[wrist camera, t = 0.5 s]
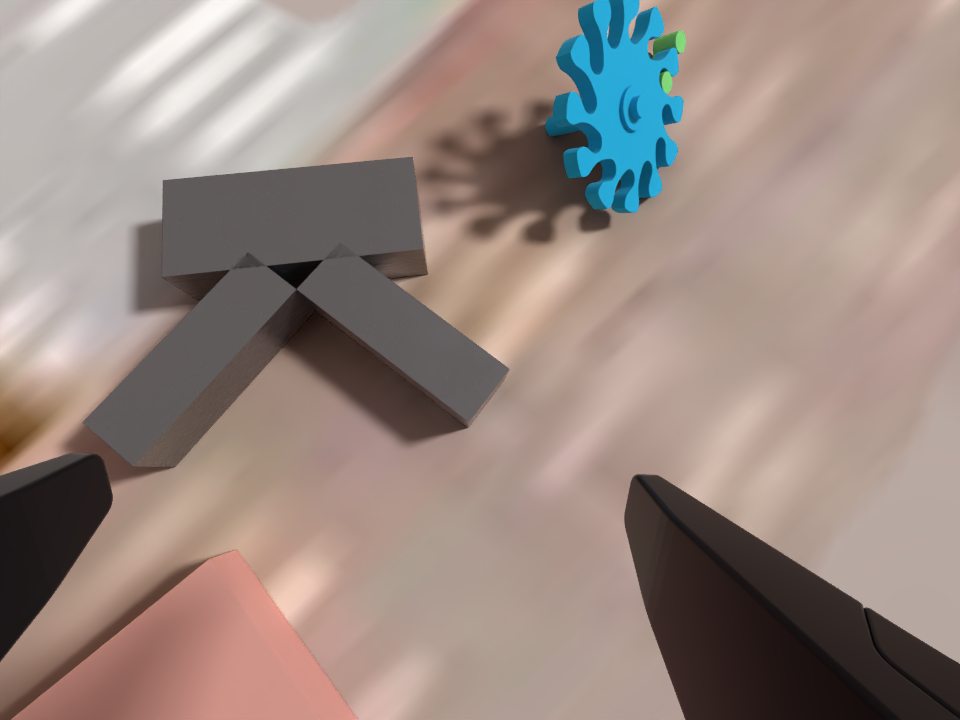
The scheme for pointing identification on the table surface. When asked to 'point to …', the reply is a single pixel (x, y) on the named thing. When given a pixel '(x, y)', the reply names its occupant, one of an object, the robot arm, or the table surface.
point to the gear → (619, 102)
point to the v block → (287, 298)
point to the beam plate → (199, 660)
